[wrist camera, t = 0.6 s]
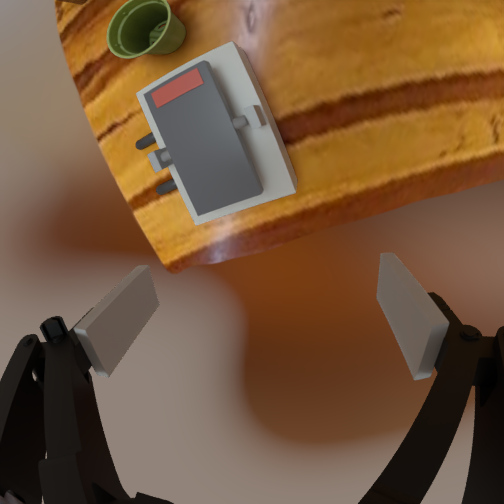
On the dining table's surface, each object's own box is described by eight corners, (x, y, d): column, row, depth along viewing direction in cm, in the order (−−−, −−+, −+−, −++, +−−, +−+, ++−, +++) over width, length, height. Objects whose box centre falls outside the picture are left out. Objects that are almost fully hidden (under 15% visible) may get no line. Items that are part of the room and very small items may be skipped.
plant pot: (133, 33, 30) (98, 24, 22) (182, 0, 26) (154, -19, 19) (153, 75, 33) (119, 72, 26) (207, 42, 30) (181, 28, 22)
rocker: (219, 57, 24) (214, 54, 23) (274, 186, 30) (272, 190, 29) (141, 99, 28) (134, 100, 26) (193, 214, 34) (188, 220, 32)
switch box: (243, 50, 30) (222, 33, 21) (297, 180, 38) (294, 203, 29) (125, 114, 37) (84, 121, 28) (175, 222, 45) (146, 251, 36)
